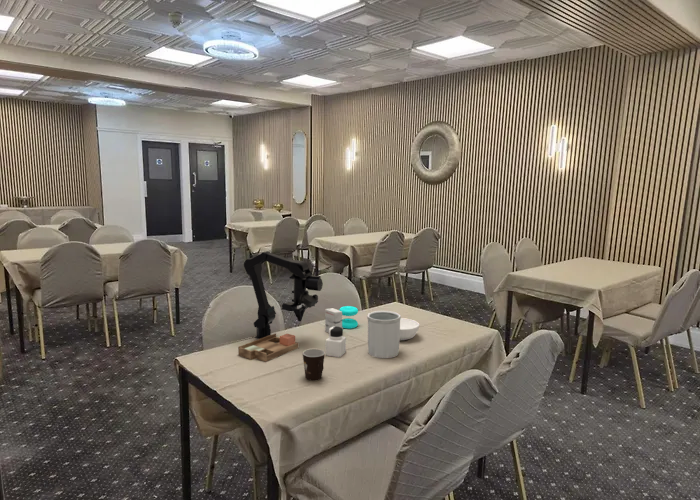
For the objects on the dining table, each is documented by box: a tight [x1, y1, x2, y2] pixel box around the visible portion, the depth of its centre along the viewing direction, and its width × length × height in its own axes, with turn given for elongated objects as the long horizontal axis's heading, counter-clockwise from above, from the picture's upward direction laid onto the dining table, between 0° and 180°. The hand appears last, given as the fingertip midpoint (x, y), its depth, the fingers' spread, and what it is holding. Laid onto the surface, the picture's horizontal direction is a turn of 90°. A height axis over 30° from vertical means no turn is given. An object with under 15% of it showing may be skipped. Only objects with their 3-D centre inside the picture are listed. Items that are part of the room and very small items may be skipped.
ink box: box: [324, 307, 343, 334], centre depth 232 cm, size 9×5×12 cm, turn 39°
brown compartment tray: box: [237, 332, 299, 363], centre depth 206 cm, size 15×23×4 cm, turn 145°
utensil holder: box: [366, 310, 402, 359], centre depth 206 cm, size 15×15×18 cm
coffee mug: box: [302, 348, 326, 382], centre depth 178 cm, size 12×9×10 cm
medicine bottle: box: [324, 326, 347, 358], centre depth 204 cm, size 7×7×12 cm
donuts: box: [338, 305, 359, 330], centre depth 243 cm, size 10×10×10 cm
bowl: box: [399, 317, 420, 341], centre depth 227 cm, size 18×18×7 cm
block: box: [279, 333, 296, 346], centre depth 209 cm, size 5×5×4 cm
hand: (299, 321), depth 215 cm, fingers closed
